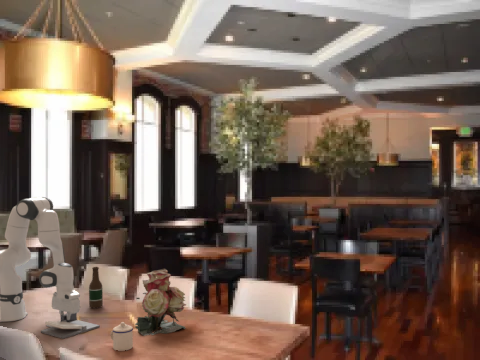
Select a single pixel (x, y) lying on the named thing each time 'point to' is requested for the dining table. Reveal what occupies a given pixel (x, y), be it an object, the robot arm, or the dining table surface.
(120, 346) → the teacup with lid
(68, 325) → the tile
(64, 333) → the board
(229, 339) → the dining table surface
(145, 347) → the dining table surface
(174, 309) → the rose bouquet
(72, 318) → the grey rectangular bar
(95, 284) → the beer bottle
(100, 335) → the dining table surface
